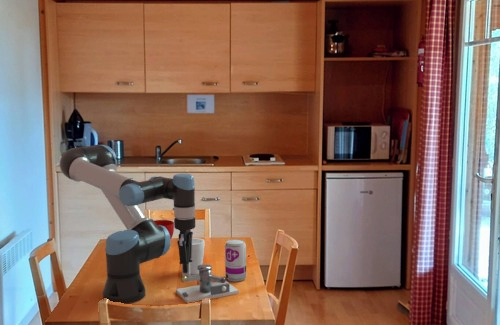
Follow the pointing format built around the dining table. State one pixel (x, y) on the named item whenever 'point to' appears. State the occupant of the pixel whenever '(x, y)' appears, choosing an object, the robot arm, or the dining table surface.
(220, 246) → the dining table surface
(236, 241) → the supplement can
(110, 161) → the robot arm
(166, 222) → the ceramic cup
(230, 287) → the stand
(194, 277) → the capstan
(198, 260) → the foam cup
